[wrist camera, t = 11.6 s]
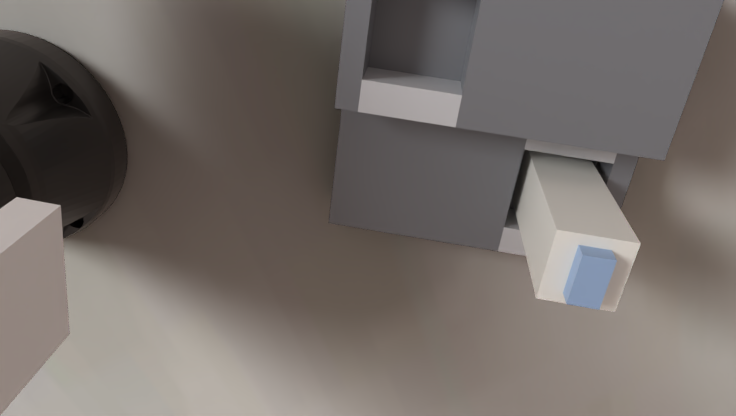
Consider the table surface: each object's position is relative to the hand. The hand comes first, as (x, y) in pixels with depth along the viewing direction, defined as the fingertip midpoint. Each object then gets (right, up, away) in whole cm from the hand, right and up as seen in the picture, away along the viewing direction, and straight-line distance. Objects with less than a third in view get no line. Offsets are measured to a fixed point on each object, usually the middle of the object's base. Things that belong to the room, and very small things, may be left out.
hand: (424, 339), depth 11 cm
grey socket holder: (+7, +9, +29) cm, 31 cm away
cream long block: (+11, +4, +30) cm, 32 cm away
